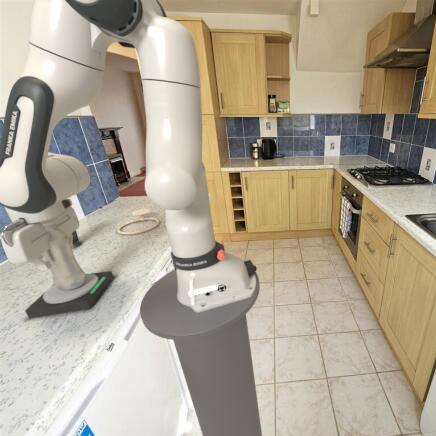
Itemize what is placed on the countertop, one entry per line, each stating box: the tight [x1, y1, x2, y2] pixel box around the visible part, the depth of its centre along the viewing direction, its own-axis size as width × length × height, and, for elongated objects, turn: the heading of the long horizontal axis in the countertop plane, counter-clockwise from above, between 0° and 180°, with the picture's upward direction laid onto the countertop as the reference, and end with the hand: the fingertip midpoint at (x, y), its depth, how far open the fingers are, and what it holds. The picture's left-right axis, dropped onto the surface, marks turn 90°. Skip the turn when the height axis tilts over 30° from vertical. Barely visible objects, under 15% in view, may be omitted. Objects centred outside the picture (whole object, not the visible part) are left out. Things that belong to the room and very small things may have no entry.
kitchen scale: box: [24, 270, 115, 319], centre depth 69 cm, size 14×14×3 cm
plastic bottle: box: [42, 223, 86, 291], centre depth 65 cm, size 6×7×20 cm
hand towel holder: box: [117, 208, 160, 236], centre depth 113 cm, size 17×4×21 cm
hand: (58, 259), depth 65 cm, fingers open, 8 cm apart
